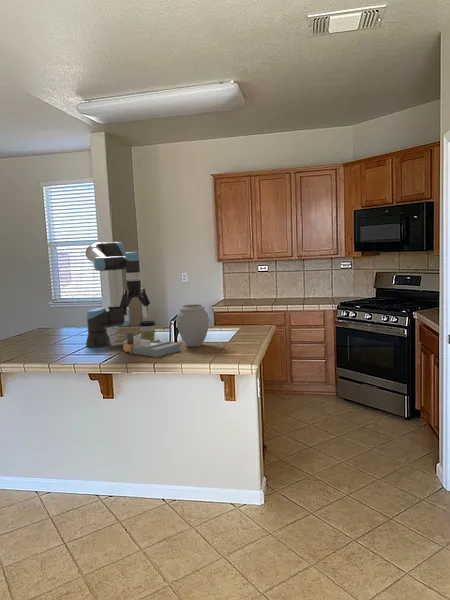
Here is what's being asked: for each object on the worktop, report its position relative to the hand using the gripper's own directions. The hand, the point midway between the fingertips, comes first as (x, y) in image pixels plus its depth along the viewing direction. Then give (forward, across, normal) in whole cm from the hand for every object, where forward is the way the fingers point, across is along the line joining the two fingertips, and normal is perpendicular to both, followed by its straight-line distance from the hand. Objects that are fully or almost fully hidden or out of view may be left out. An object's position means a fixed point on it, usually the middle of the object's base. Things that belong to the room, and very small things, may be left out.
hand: (136, 319), depth 254 cm
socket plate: (+21, +12, -2) cm, 24 cm away
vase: (+21, +34, -10) cm, 42 cm away
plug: (+20, +5, +12) cm, 24 cm away
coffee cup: (+21, +21, +15) cm, 33 cm away
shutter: (+16, +9, 0) cm, 19 cm away
